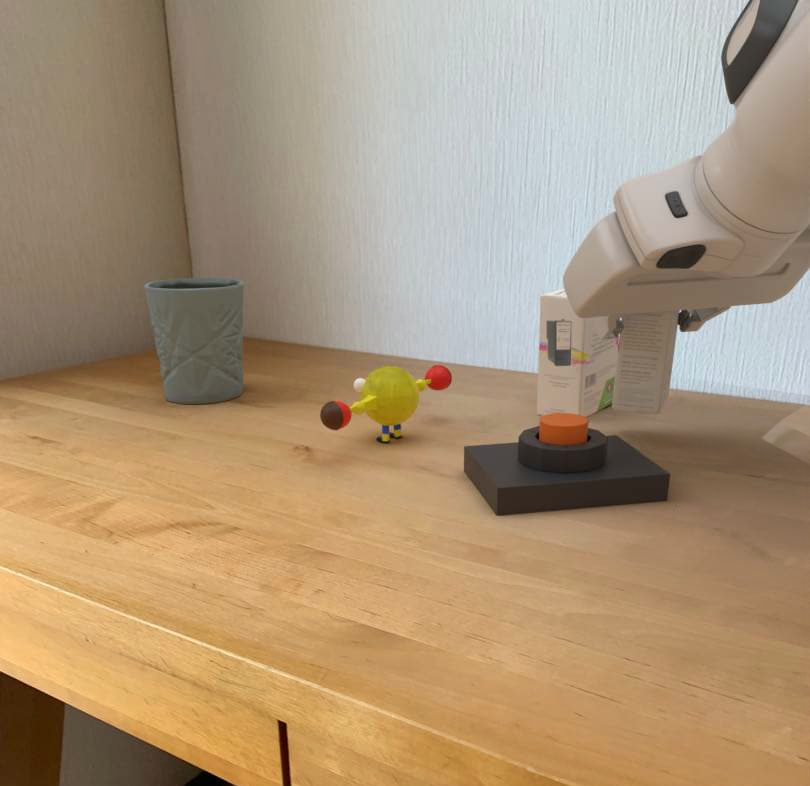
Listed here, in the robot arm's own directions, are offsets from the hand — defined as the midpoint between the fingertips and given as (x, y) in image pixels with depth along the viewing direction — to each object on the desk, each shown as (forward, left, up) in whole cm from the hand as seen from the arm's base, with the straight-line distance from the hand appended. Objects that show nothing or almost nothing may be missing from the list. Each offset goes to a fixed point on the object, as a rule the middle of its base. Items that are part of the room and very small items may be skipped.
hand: (644, 329), depth 75 cm
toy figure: (+22, -4, -10) cm, 24 cm away
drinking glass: (+39, -26, -10) cm, 48 cm away
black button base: (+11, +11, -10) cm, 18 cm away
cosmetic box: (0, +1, -7) cm, 7 cm away
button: (+11, +11, -6) cm, 16 cm away
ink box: (+2, -10, -10) cm, 15 cm away
